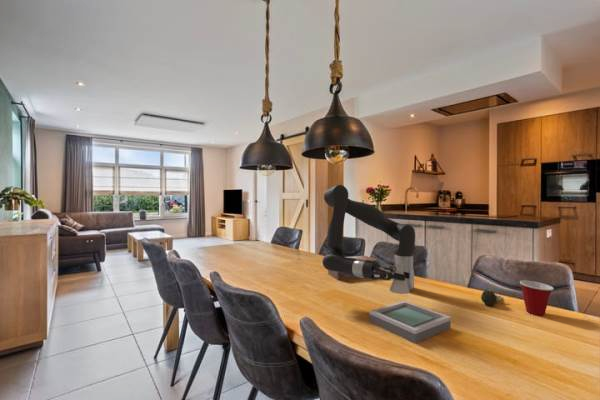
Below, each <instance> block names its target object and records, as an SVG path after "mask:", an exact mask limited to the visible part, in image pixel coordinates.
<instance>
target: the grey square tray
mask: <svg viewBox="0 0 600 400" xmlns="http://www.w3.org/2000/svg"><path fill="white" fill-rule="evenodd" d="M451 319H452V317H451V316H449V315H447V314H444V313H441V312H437V311H434V310H433V309H432V310H431V309H428V308H426V307H423V306H421V305H418V304H414V303H412V302H409V301H406V300H402V301H399V302H395V303H391V304H387V305H385V306H380V307H377V308H374V309H370V310H369V322H370V323H371V324H374V325H376V326H377V327H380V328H382V329H384V330H386V331H388V332H390V333H392V334H394V335H396V336H398V337H401V338H403V339H405V340H406V341H409V342H412V343H413V344H417V343H421V342H422V341H424V339H425V340H427V339H429V338H431V336H432V337H434V336H436V335H438V333H439V334H441V333H443V332H446V331H449V330H450V328H451V327H452V325H451Z"/></svg>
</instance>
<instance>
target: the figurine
mask: <svg viewBox="0 0 600 400" xmlns="http://www.w3.org/2000/svg"><path fill="white" fill-rule="evenodd" d="M480 299H481V301H482V303H484V304H485V306H489V307H492V306H494V305H496V304H497V302H500V303H501V302H503V301H504V299H505V298H504V297H503V296H501V295H497V294H496V293H495V292H494V291H492V290H487V289H486V290H483V291H482V294H481V296H480Z"/></svg>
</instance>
